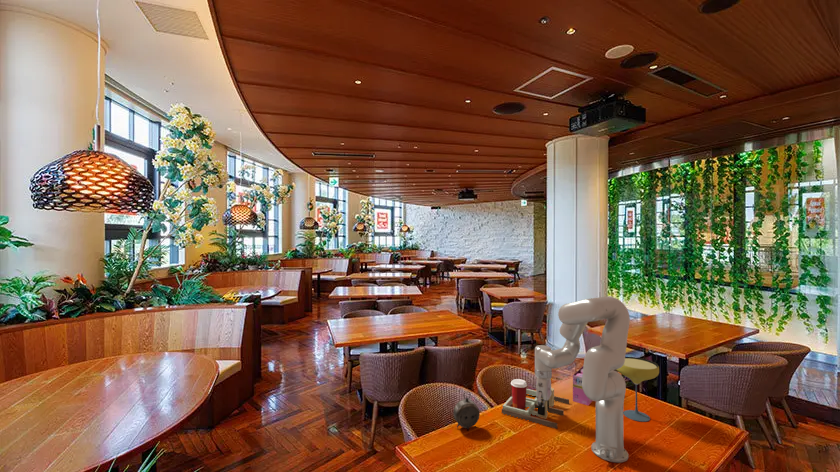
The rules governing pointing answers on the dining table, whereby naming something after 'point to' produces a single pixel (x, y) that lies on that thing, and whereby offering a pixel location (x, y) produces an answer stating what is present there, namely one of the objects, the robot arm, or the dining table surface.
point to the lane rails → (538, 420)
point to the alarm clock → (466, 413)
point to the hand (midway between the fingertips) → (543, 411)
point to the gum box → (579, 388)
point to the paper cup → (519, 393)
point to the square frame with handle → (533, 393)
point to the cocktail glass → (638, 380)
